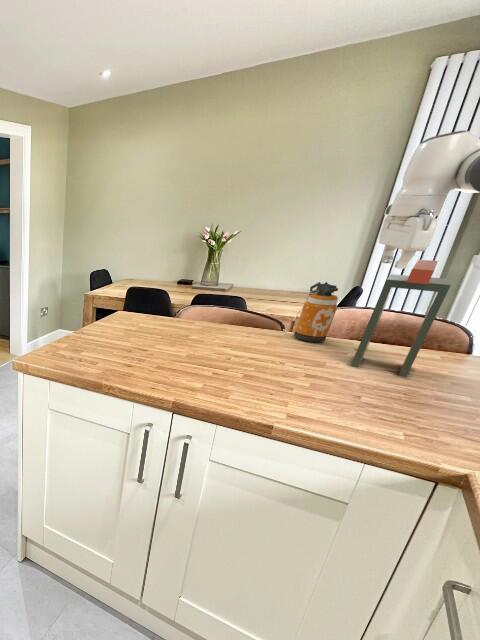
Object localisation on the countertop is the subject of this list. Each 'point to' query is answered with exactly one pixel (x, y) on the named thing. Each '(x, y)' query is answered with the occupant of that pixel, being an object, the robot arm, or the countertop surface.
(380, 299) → the dark green stand
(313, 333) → the canister
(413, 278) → the red bar
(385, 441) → the countertop surface
